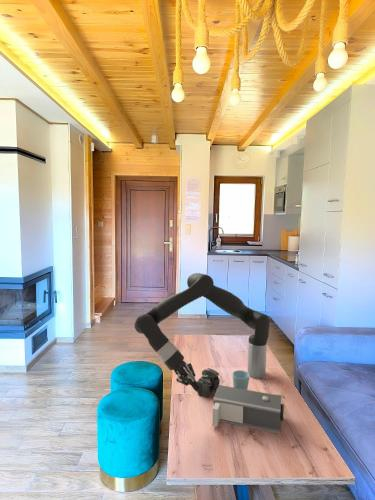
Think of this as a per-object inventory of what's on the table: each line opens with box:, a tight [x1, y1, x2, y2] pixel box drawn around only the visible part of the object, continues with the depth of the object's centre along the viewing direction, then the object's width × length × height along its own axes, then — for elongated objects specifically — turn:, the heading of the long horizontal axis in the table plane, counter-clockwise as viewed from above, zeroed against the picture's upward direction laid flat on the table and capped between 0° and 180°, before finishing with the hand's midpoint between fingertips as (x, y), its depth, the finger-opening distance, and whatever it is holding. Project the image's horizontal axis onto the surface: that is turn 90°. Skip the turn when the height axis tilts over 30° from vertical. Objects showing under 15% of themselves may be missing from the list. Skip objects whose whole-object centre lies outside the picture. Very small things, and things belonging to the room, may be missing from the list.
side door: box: [211, 401, 243, 427], centre depth 124 cm, size 6×11×7 cm, turn 72°
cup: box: [232, 369, 250, 390], centre depth 145 cm, size 8×8×10 cm
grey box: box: [212, 384, 285, 435], centre depth 129 cm, size 11×27×10 cm, turn 72°
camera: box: [196, 367, 221, 398], centre depth 150 cm, size 13×10×10 cm
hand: (198, 389), depth 125 cm, fingers closed
